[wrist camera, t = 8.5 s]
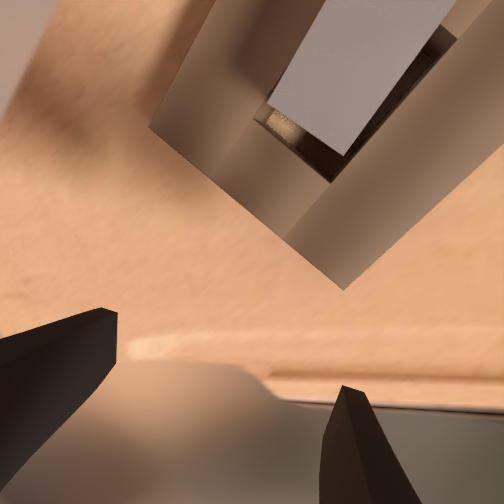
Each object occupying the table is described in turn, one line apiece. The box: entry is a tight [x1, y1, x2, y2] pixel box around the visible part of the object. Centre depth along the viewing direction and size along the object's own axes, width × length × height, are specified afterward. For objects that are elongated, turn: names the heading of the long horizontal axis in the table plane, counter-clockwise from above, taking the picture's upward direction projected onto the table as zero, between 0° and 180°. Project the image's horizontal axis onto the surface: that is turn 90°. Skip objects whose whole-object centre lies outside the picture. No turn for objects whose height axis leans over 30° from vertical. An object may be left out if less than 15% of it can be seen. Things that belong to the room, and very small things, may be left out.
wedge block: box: [267, 0, 457, 156], centre depth 12 cm, size 3×5×6 cm, turn 147°
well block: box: [148, 0, 504, 291], centre depth 13 cm, size 12×13×3 cm
